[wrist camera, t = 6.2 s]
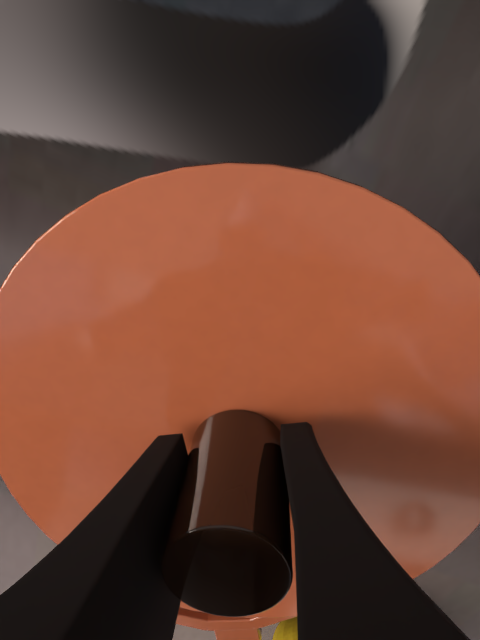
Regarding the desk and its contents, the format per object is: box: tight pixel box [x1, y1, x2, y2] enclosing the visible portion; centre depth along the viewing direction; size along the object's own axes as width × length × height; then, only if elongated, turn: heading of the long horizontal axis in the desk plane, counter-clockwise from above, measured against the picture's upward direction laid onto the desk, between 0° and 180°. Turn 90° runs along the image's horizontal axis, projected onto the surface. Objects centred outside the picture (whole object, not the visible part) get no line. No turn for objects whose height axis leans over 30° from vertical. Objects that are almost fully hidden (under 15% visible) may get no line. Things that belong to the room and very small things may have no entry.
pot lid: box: [0, 162, 480, 618], centre depth 10 cm, size 14×14×4 cm
